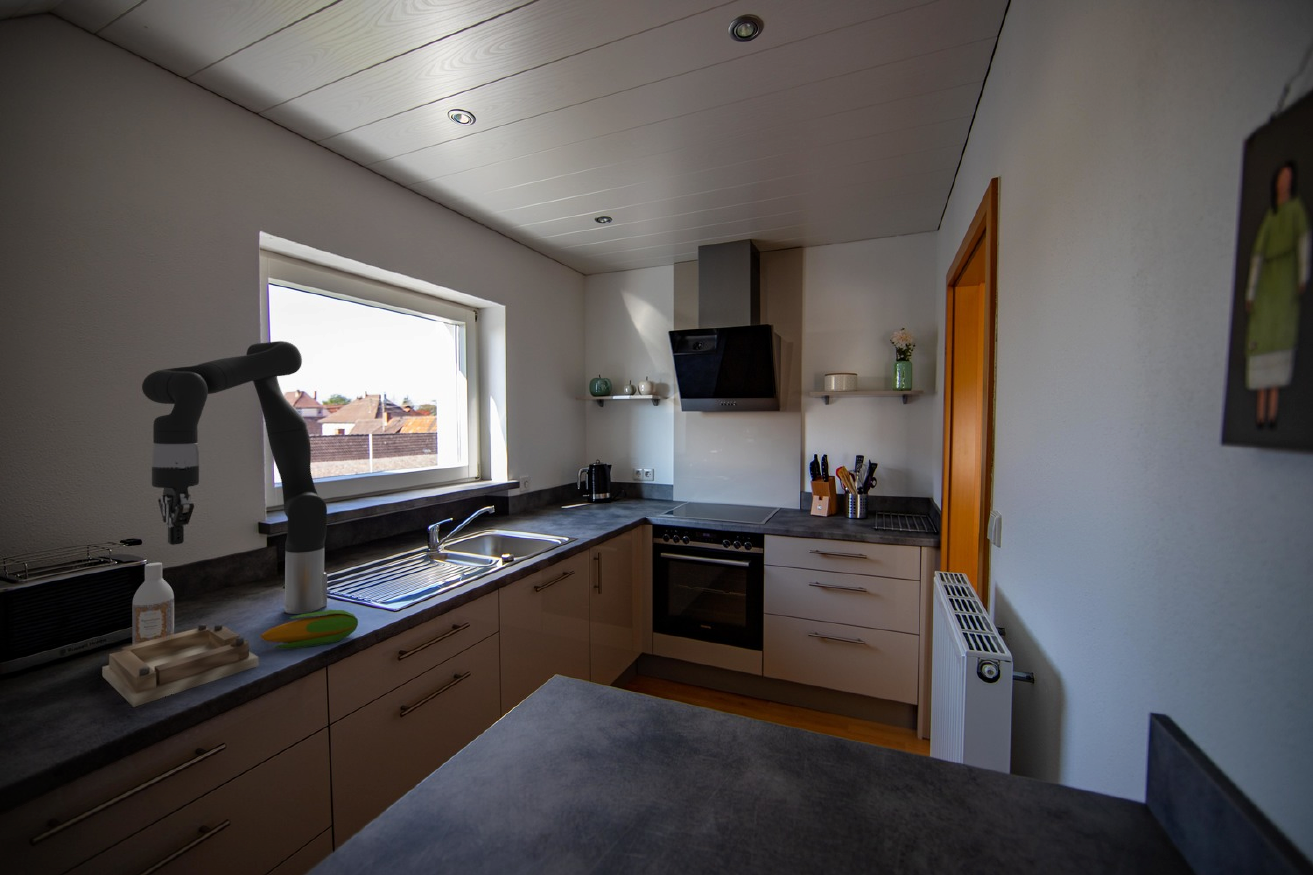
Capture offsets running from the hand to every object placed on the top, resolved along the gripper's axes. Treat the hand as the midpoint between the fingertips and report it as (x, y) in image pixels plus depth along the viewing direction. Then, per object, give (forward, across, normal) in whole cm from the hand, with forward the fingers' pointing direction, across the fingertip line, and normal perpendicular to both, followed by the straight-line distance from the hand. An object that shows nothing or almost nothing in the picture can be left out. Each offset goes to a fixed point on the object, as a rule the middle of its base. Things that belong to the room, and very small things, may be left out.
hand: (175, 543), depth 113 cm
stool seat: (+27, +4, 0) cm, 27 cm away
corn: (+27, +11, +22) cm, 37 cm away
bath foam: (+27, -14, 0) cm, 31 cm away
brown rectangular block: (+25, +12, +2) cm, 27 cm away
